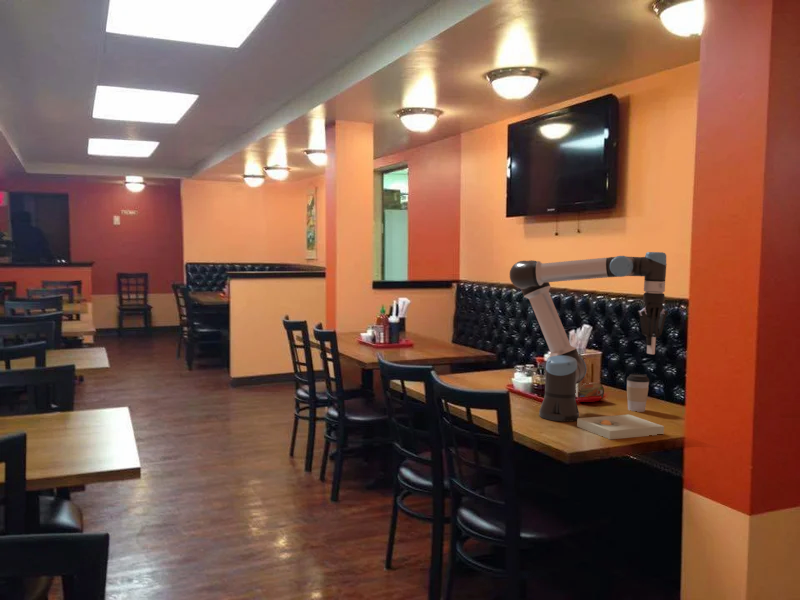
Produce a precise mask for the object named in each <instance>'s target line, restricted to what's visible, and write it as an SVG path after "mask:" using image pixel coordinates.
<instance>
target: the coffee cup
mask: <svg viewBox="0 0 800 600" xmlns="http://www.w3.org/2000/svg"><path fill="white" fill-rule="evenodd" d="M647 375H648V374H641V373H631V374H629V376H627V378H626V398H627V411H630V410H631V412H635V411H637V413H638V412H639V413H643V412H645V411H646V404H647V401H648V393H649V385H650V381H651V380H650V378H649V377H648V376H647Z"/></svg>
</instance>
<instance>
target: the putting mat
mask: <svg viewBox="0 0 800 600" xmlns="http://www.w3.org/2000/svg"><path fill="white" fill-rule="evenodd" d="M603 420H608V421H610V422H611V424H612V425H603V424H601V422H602V421H603ZM576 423H577V424H576V427H578V428H580V429H583V430H585V431H588V432H590V433H592V434H595V435H597V434H598V436H600V437H602V436H603V437H602V438H605V439H607V438H608V440H616V439H617V440H619V439H628V438H640V437H641V438H642V437H650V436H649V435H652V436H658V435H657V434H663V435H664V433H665V426H664V425H662V424H658V423H656V422H652V421H650V420H647V419H644V418H641V417H638V416H635V415H632V414H629V413H627V414H619V415H618V414H616V415H603V416H592V417H591V416H590V417H579V418H577V420H576Z"/></svg>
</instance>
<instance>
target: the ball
mask: <svg viewBox="0 0 800 600" xmlns="http://www.w3.org/2000/svg"><path fill="white" fill-rule="evenodd" d="M601 424H603V425H612V424H611V422H610V421H608V420H603V421H602V422H601Z"/></svg>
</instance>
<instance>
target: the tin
mask: <svg viewBox="0 0 800 600" xmlns="http://www.w3.org/2000/svg"><path fill="white" fill-rule="evenodd" d="M588 383H589V384H586V383H582V384H583V385H582V386H581V387H580V388H581V390H580V389H579V391H580V392H578V397H588V396H601V397H602V399H603V398H604V395H605V388H604V385H603V384H602V383H599V382H588Z"/></svg>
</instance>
